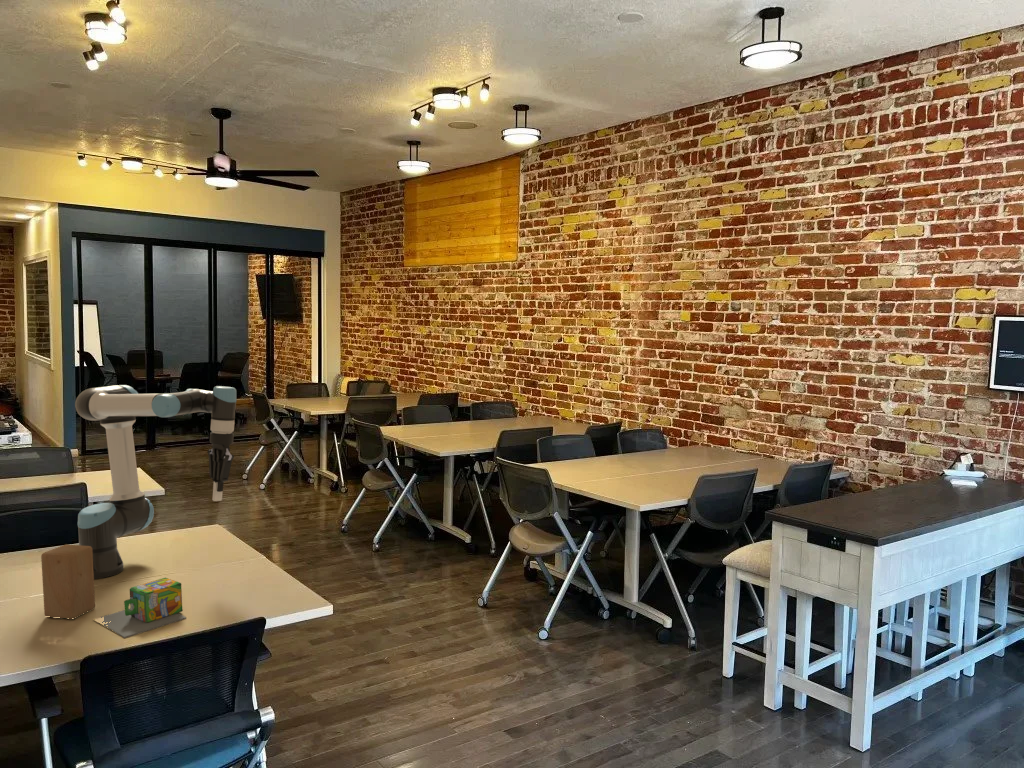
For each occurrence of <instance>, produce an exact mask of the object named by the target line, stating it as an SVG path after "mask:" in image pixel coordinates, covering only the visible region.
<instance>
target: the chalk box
mask: <svg viewBox="0 0 1024 768" xmlns="http://www.w3.org/2000/svg"><path fill="white" fill-rule="evenodd" d="M182 592H183V591H182V582H179V581H177V580H175V579H171V578H168V577H163V578H159V579H155V580H152V581H149V582H145V583H142V584H138V585H135V586H134V585H133V586H130V588H129V599H125V600H124V601H123V605H124V610H125V615H126V616H128V615H131V616H132V617H134V618H136V619H138V620H141V621H143V622H145V623H148V622H151V621H154V620H157V619H160V618H163V617H167V616H170V615H173V614H176V613H178V614H180V613H181V612H183V610H184V609H183V596H182V594H183V593H182ZM129 606H130V607H129ZM129 609H130V610H129Z"/></svg>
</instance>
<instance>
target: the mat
mask: <svg viewBox="0 0 1024 768" xmlns="http://www.w3.org/2000/svg"><path fill="white" fill-rule="evenodd" d="M129 610H130V608H129ZM103 616H104V621H103V622H105V623H106V622H108V623H107V624H104V626H106V625H108V626H106V627H108V628H109V629H111V630H113V631H114V632H116V633H117V634H116V633H115V634H116V635H118V634H119V635H118V636H119V637H121V636H122V638H123V639H127V638H130V637H133V636H136V635H139V634H143V633H145V632H149V631H152V630H156V629H157V628H161V627H164V626H166V625H170V624H174V623H176V622H180V621H182V620H183V621H184V620H187V616H185V615H183V614H180V613H176V614H173V615H170V616H167V617H163V618H160V619H157V620H154V621H151V622H148V623H145V622H143V621H141V620H138V619H136V618H134V617H132V616H131V615H128V616H126V615H125V609H123V610H120V611H117V612H113V613H110V614H106V615H103ZM103 616H100V617H101V618H102V617H103ZM110 621H111V622H110ZM103 622H102V623H103ZM109 622H110V623H109ZM104 626H103V627H104ZM106 627H105V628H106ZM109 629H108V630H109ZM111 630H110V631H111ZM113 631H112V632H113ZM114 632H113V633H114Z"/></svg>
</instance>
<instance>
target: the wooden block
mask: <svg viewBox="0 0 1024 768" xmlns="http://www.w3.org/2000/svg"><path fill="white" fill-rule="evenodd" d="M40 558H41V574H42V575H41V576H42V593H43V594H42V596H43V610H44V612H43V614H44V617H45V616H50V617H60V618H69V619H72V618H75V617H77V616H79V615H81V614H83V613H85V614H86V612H87V611H89V612H91V611H93V610H94V609H95V607H96V597H95V594H96V593H95V579H94V572H93V552H92V547H91V546H81V545H79V544H78V545H77V544H67V543H65V544H64V545H61V546H58V547H55V548H53V549H50V550H48V551H45V552H42V553H41V556H40ZM92 609H93V610H92ZM90 610H91V611H90ZM87 613H88V612H87ZM83 615H84V614H83ZM81 616H82V615H81ZM79 617H80V616H79ZM77 618H78V617H77ZM75 619H76V618H75Z"/></svg>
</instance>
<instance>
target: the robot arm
mask: <svg viewBox="0 0 1024 768" xmlns="http://www.w3.org/2000/svg"><path fill="white" fill-rule="evenodd" d="M237 399H238V398H237V389H236V388H235V387H233V386H232V387H231V386H224V385H223V386H222V385H216V386H214V387H213V390H205V389H199V388H187V389H186V390H185V391H180V392H178V391H177V392H170V393H169V392H168V393H167V392H166V393H165V392H164V393H139V392H138V391H137V390H136V389H134V387H132V386H130V385H127V384H119V385H118V384H115V385H114V384H113V385H108V386H98V387H90V388H87V389H85V390H83V391H81V393H79V394H78V396H77V397H76V399H75V403H74V406H75V411H76V412H77V414H78V415H79V416H80V417H82V418H83V419H85V420H87V421H92V422H93V421H99V423H100V426H101V427H103V428H104V429H105V434H106V444H107V453H108V459H109V469H110V475H111V487H112V495H111V497H110V498H109V502H103V503H102V502H100V503H97V504H96V503H95V504H92V505H88V506H86V507H84V508H82V509H81V510H80V511H79V513H78V514H77V528H78V529H77V531H78V532H77V533H78V545H81V546H91V547H92V552H93V572H94V580H96V579H98V578H99V579H104V578H108V577H113V576H115V575H118V574H120V573H122V572H123V571H124V566H125V565H124V561H123V559H122V556H121V555H120V551H119V549H118V544H117V543H118V541H117V540H118V539H117V538H120V537H124V536H127V535H129V534H133V533H138V532H140V531H142V530H144V529H146V528H147V527H148V526H149V525H150V524H151V523H152V521H153V519H154V517H155V511H154V510H155V508H154V505H153V503H152V502H151V500H150V499H148V498H147V497H146V495H145V493H144V492H143V491H142V490H140V485H139V484H140V483H139V475H138V467H137V458H136V449H135V442H134V441H135V440H134V434H133V433H134V432H133V425H134V424H135V423H136V420H137V419H136V417H159V418H172V417H175V416H180V415H187V414H188V415H189V414H193V413H194V414H195V413H209V414H210V415H211V419H210V431H211V432H210V434H209V443H210V444H212V445H211V449H207V455H208V467H209V469H208V470H209V478H210V479H212V483H213V485H212V486H213V487H212V498H211V500H212V501H213V502H219V501H220V502H221V501H223V492H224V483H225V482H228V481H229V476H230V472H231V467H232V463H233V460H234V458H235V455H234V454H231V453H230V451H231V448H230V446H231V445H232V444H234V435H235V434H234V433H233V432H234V431H235V424H236V423H235V419H236V408H237ZM99 579H98V580H99Z"/></svg>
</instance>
